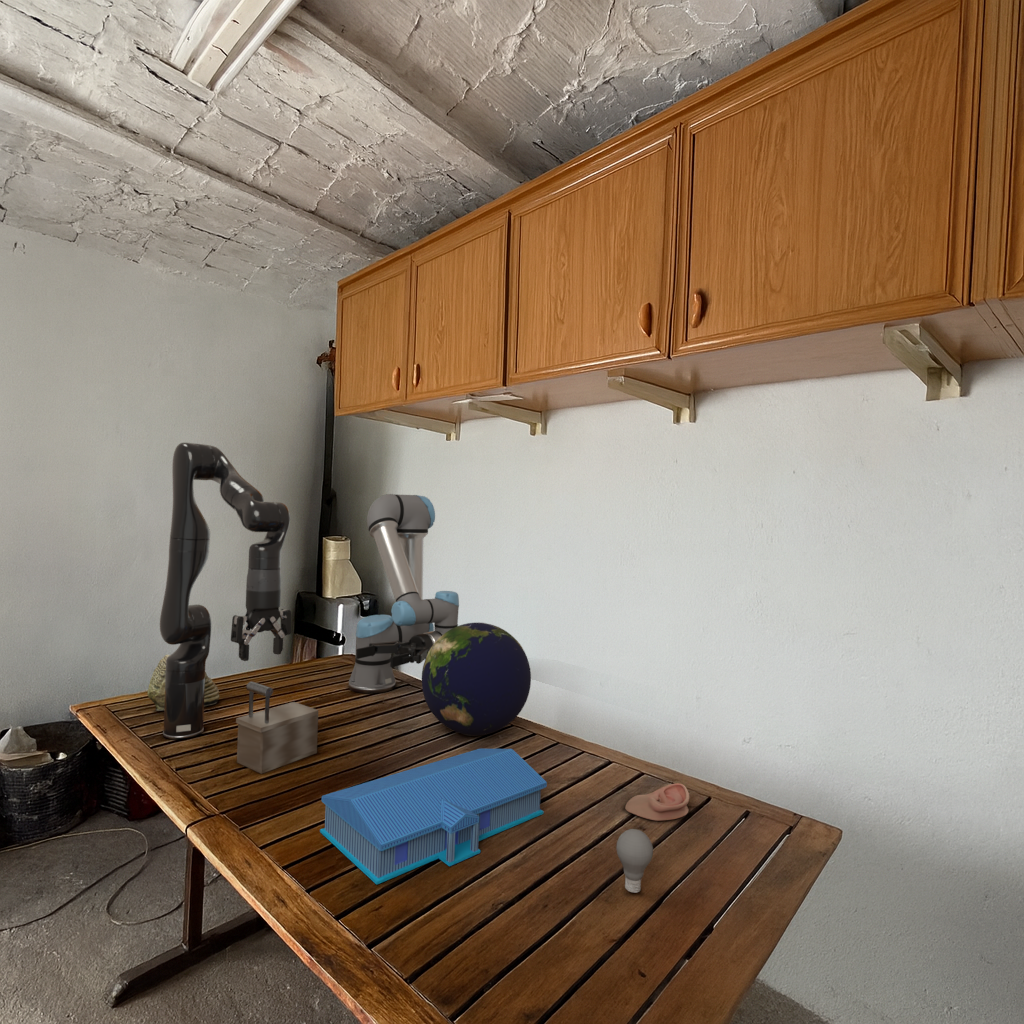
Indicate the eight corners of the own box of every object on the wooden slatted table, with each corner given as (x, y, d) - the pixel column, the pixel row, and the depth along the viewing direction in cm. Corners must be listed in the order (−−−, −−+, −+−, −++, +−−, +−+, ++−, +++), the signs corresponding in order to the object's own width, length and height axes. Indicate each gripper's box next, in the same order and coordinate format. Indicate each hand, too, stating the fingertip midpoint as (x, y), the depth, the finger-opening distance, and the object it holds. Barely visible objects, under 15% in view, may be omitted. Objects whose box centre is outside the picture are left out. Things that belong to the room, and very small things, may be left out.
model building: (386, 894, 102) (389, 832, 102) (318, 830, 120) (320, 778, 120) (555, 819, 128) (557, 770, 128) (478, 776, 146) (480, 733, 146)
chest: (261, 774, 143) (262, 732, 143) (236, 762, 149) (238, 722, 148) (317, 753, 156) (318, 714, 156) (292, 743, 161) (293, 706, 161)
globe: (398, 740, 166) (402, 626, 165) (451, 707, 194) (455, 609, 193) (502, 762, 155) (508, 640, 154) (543, 724, 182) (548, 620, 182)
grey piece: (260, 732, 143) (262, 691, 142) (235, 722, 148) (237, 682, 148) (318, 714, 156) (319, 676, 156) (293, 706, 161) (295, 669, 161)
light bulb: (610, 879, 108) (613, 822, 108) (644, 879, 109) (647, 822, 109) (619, 902, 102) (622, 840, 102) (655, 901, 103) (658, 840, 103)
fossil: (144, 707, 182) (145, 655, 182) (212, 696, 194) (213, 647, 194) (151, 716, 175) (153, 662, 175) (221, 703, 188) (223, 653, 188)
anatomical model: (625, 797, 130) (626, 774, 142) (624, 816, 131) (626, 791, 142) (692, 806, 128) (688, 782, 139) (691, 826, 128) (687, 800, 139)
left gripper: (245, 592, 139) (242, 665, 139) (299, 586, 151) (297, 654, 151) (225, 588, 143) (223, 659, 143) (280, 583, 155) (277, 649, 155)
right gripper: (456, 664, 187) (406, 679, 170) (395, 651, 201) (343, 663, 184) (457, 639, 187) (407, 651, 170) (396, 627, 201) (344, 637, 184)
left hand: (261, 657), depth 147 cm, fingers open, 8 cm apart
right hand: (373, 657), depth 177 cm, fingers open, 13 cm apart
